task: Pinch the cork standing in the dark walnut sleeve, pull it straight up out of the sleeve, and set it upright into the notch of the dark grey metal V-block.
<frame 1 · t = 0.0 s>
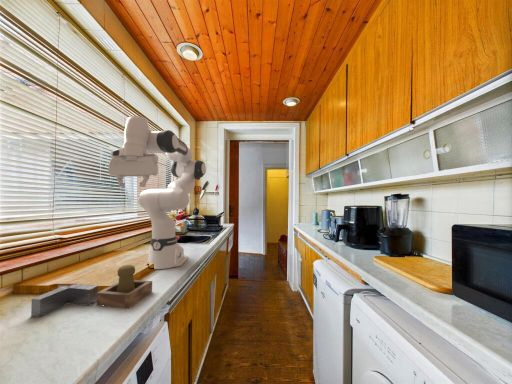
hand: (132, 186, 87), 39 cm above the countertop, tool pointing down, fingers open, 8 cm apart
sleeve: (126, 298, 73), on the countertop
v block: (65, 310, 65), on the countertop
cork: (126, 299, 73), resting in sleeve
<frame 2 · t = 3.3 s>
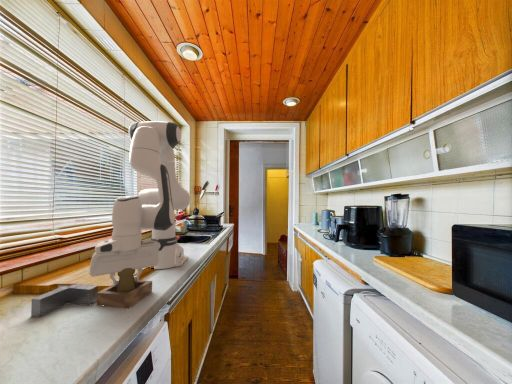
hand: (126, 283, 73), 5 cm above the countertop, tool pointing down, fingers closed on cork, 4 cm apart
cork: (126, 298, 73), resting in sleeve, touching gripper
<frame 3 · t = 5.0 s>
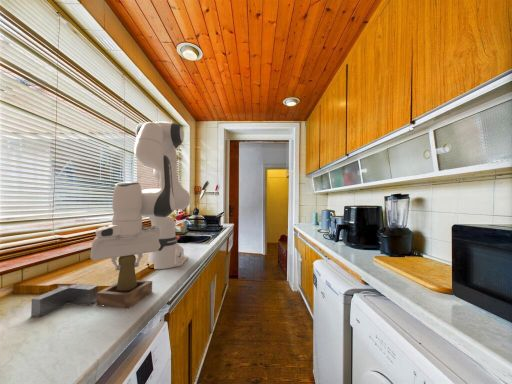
hand: (127, 268, 74), 10 cm above the countertop, tool pointing down, fingers closed on cork, 4 cm apart
cork: (127, 287, 74), point 4 cm above the countertop, touching gripper
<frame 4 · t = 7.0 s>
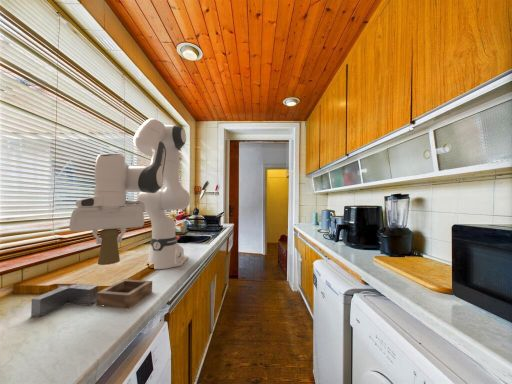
hand: (109, 242, 71), 20 cm above the countertop, tool pointing down, fingers closed on cork, 4 cm apart
cork: (109, 262, 70), point 13 cm above the countertop, touching gripper
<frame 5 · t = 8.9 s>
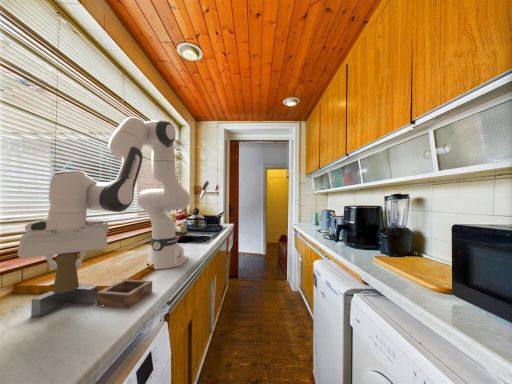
hand: (66, 267, 65), 13 cm above the countertop, tool pointing down, fingers closed on cork, 4 cm apart
cork: (66, 289, 65), point 7 cm above the countertop, touching gripper
when the fingers open (7 cm above the countertop, at t = 10.5 s): cork moves 2 cm, resting on v block.
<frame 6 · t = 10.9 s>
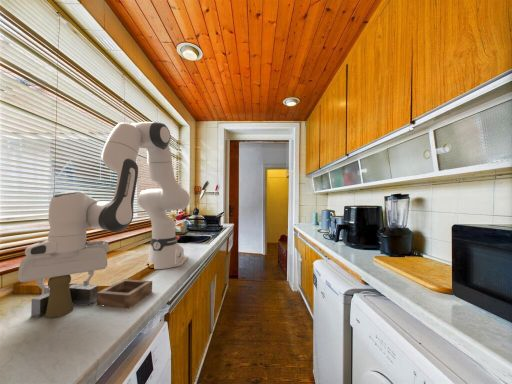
hand: (67, 289, 65), 6 cm above the countertop, tool pointing down, fingers open, 8 cm apart
cork: (59, 312, 64), resting on v block, touching gripper
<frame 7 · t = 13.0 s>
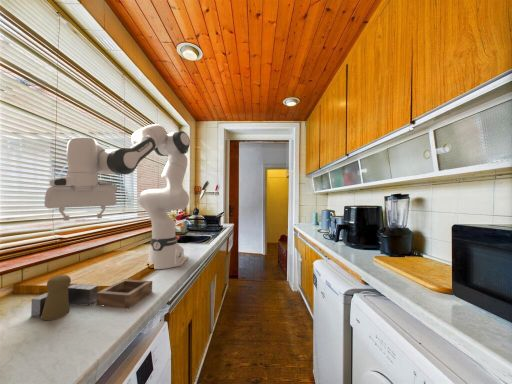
hand: (83, 219, 78), 27 cm above the countertop, tool pointing down, fingers open, 8 cm apart
cork: (55, 314, 63), on the countertop
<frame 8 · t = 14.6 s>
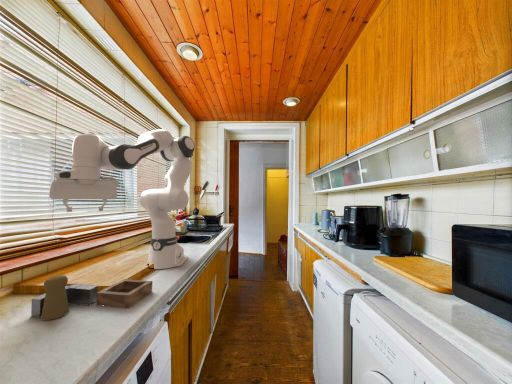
hand: (85, 211, 82), 29 cm above the countertop, tool pointing down, fingers open, 8 cm apart
at the end: cork 2.5 cm off-centre on the v block, point 0.0 cm above the v block's base; cork tilted 3°; the gripper is holding nothing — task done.
